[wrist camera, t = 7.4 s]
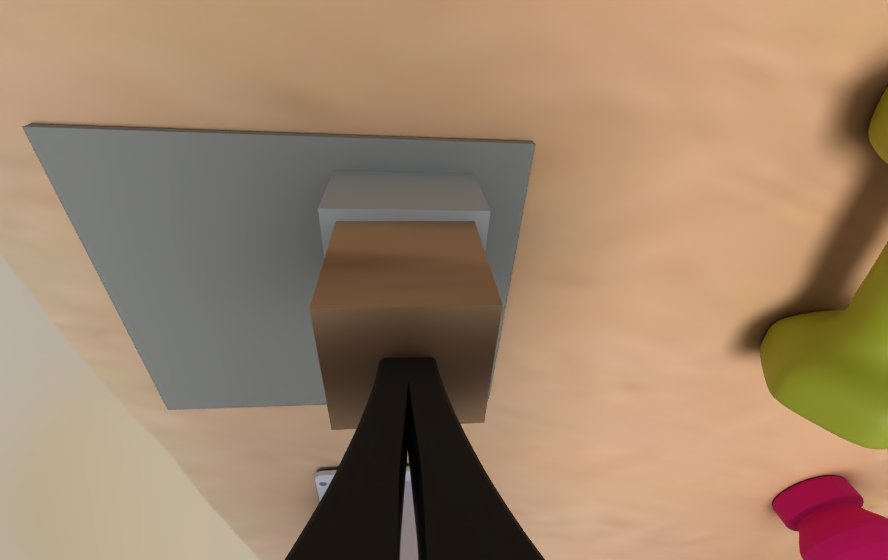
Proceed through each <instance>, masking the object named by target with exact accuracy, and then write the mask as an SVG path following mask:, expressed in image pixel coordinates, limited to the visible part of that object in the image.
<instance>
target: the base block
mask: <svg viewBox="0 0 888 560" xmlns="http://www.w3.org/2000/svg"><path fill="white" fill-rule="evenodd" d="M490 212H491V211H490V209H489V206H488V204H487V202H486V199H485V197H484V195H483V192H482V190H481V188H480V185H479V183H478V181H477V178H476V176H475V174H458V173H418V172H379V171H339V170H333V173H332V175H331V178H330V180H329V183H328V185H327V187H326V190H325V192H324V195H323V197H322V200H321V202H320V205H319V207H318V213H319V221H320V228H321V236H322V244H323V251H324V259H325V255H326V252H327V249H328V245H329V242H330V239H331V235H332V232H333V229H334V226H335V222H336V221H475V224H476V227H477V230H478V233H479V236H480V239H481V242H482V245H483V248H484V251H485V250H486V242H487V234H488V227H489V219H490Z"/></svg>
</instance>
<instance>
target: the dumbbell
mask: <svg viewBox="0 0 888 560" xmlns="http://www.w3.org/2000/svg"><path fill="white" fill-rule="evenodd" d="M868 134H869V141H870V143H871V145H872V146H873V148H874V150H875V151H876V153H877V154H878V155H879V156H880V157H881V158H882V159H883V160H884V161H885V162H886V163H887V164H888V87H887V88H886V90H885V91H884V93H883V95H882V97H881V99H880V101H879V103H878V105H877V107H876V109H875V111H874V114H873V116H872V119H871V121H870V125H869V129H868ZM760 357H761V363H762V368H763V373H764V377H765V380H766V384H767V387H768V389H769V391H770V393H771V394H772V395H773V397H774V398H775V399H776V400H778V401H779V402H780V403H781V404H783V405H784V406H786V407H787V408H789V409H790V410H792V411H793V412H795V413H797V414H798V415H800V416H802V417H804V418H805V419H807V420H809V421H811V422H813V423H815V424H816V425H818V426H820V427H822V428H824V429H825V430H827V431H829V432H831V433H833V434H835V435H837V436H839V437H841V438H843V439H845V440H847V441H850V442H852V443H854V444H857V445H860V446H863V447H866V448H872V449H888V242H887V244H886V245H885V247H884V249H883V250H882V252H881V254H880V255H879V257H878V259H877V260H876V262H875V263H874V265H873V267H872V268H871V270H870V272H869V273H868V275H867V276H866V278H865V279H864V281H863V282H862V284H861V285H860V287H859V289H858V290H857V292H856V294H855V296H854V297H853V299H852V301H851V303H850V304H849V306H848V307H847V308H846V310H829V311H818V312H811V313H805V314H800V315H795V316H791V317H787V318H783V319H781V320H779V321H777V322H776V323H774V324H773V325H772V326H771V327H770V328H769V330H768V331H767V333H766V335H765V337H764V339H763V341H762V343H761V346H760Z"/></svg>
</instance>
